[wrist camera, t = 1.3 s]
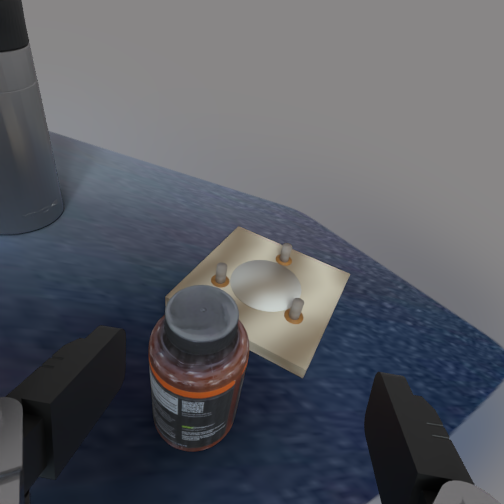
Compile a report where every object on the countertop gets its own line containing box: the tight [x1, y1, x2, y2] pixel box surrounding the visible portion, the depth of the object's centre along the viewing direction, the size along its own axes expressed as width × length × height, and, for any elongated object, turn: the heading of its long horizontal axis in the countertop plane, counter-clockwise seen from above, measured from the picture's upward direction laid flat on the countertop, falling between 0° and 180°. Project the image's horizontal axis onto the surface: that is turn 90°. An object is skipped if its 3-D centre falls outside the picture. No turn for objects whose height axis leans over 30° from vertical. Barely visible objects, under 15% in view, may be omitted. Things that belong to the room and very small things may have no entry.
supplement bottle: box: [149, 285, 249, 452], centre depth 23 cm, size 6×6×11 cm
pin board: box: [165, 227, 350, 378], centre depth 36 cm, size 14×14×3 cm
